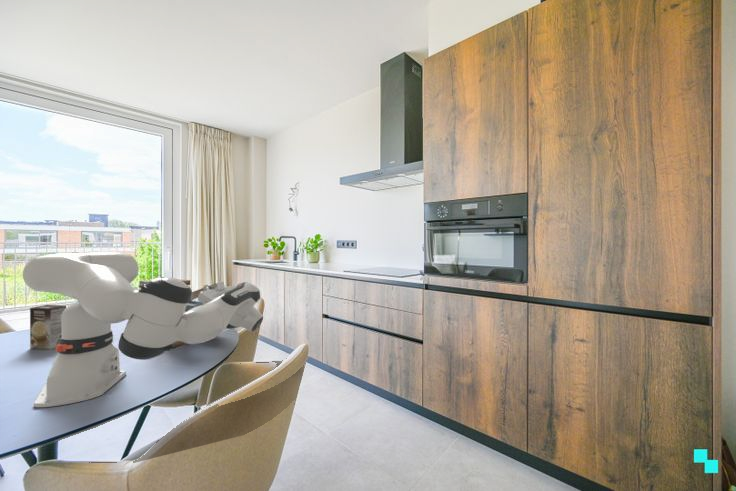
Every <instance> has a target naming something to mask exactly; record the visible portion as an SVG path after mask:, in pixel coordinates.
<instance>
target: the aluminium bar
mask: <svg viewBox="0 0 736 491" xmlns="http://www.w3.org/2000/svg"><path fill="white" fill-rule="evenodd" d="M215 283H216V282H215ZM215 283H213V284H211V285H209V286H210V287H209V289H211V290H213V289H216V290H221V289H225V287H226V286H225V282H224V281H221V282H217V283H216V284H215ZM202 291H205V290H204V289H203V287H202V288H199V289H197V290H193V291H192V294H191V299H190V301H192V300H198V296H199V294H200V292H202Z"/></svg>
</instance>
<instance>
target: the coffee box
mask: <svg viewBox="0 0 736 491" xmlns="http://www.w3.org/2000/svg"><path fill="white" fill-rule="evenodd" d="M66 308H67V306H66V305H59V304H57V305H56V304H43V305H39V306H34V307H33V306H32V307H30V308H29V328H30V329H29V335H30V336H29V348H30V349H33V350H34V349H35V350H36V349H39V350H53V349H56V346H57V345H59V341H60V338H61V337H62V322H61V316H62V313H63V311H64V310H65V309H66Z"/></svg>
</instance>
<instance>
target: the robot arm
mask: <svg viewBox="0 0 736 491" xmlns="http://www.w3.org/2000/svg"><path fill="white" fill-rule="evenodd" d="M138 274H139V264H138V262H137V259H136V258H135V257H134V256H132V255H131V254H129V253H128V254H127V253H122V252H115V251H113V252H112V251H111V252H75V253H74V252H71V253H70V252H68V253H63V252H62V253H54V254H53V253H51V254H47V255H46V254H45V255H40V256H34V257H33V258H31V259H30V260H29V261H28V262H27V263H26V264H25V266H24V268H23V271H22V278H23V281H24V283H25V285H26V286H27V287H29V288H30V289H31V290H33V291H35V292H41V293H53V294H58V295H61V296H65V297H69V298H72V299H74V300H76V302H73V303H71V304H70V305H68V306H66V309H65V310H64V311H63V313H62V316H61V322H62V337H61V338H60V341H59V345H57V346H56V348H55V352H56V353H58V354H57V355H55V359H54V361H53V363H52V366H51V368H50V371H49V374H48V375H47V379H46V382H45V384H44V385H43V387H42V389H41V390H40V392H39V393H38V395H37V397H36V398H35V400H34V402H33V407H34V408H50V407H57V406H65V405H70V404H74V403H79V402H84V401H87V400H91V399H95V398H98V397H100V396H102V395H104V393H106V392H107V391H109V389H111V388H113V386H114V385H115V384H117V383H118V382H119V381H120V380H121V379H123V377H125V376H126V375H127V371H126V370H125V369H121V366H120V365H121V364H120V353H121V354H122V355H123V356H126V357H128V358H131V359H136V360H142V361H143V360H152V359H153V358H156V357H159V356H161V355H162V354H164V353H165V352H170V351H172V350H173V349H174V348H173V347H174V345H173V344H174V342H176V341H182V342H184V343H187V344H188V345H192V344H193V345H195V344H203V343H206V342H209V341H211V340H214V339H215V338H217V337H218V336H220V335H221V334H222V333H223V332H224V330H225V329H228V330H232V329H237V328H243V329H245V330H246V331H248V332H250V333H252V332H254V331H255V330H257V329H258V328H259V327H260V325H261V324H262V323H263V320H264V316H263V315H262V313H261V312H260V311H259V310H258V309H257V308H256V307H255V305H256V304H257V303H258V301H259V300H260V299H261V291H260V289H259V287H257V286H256V285H255V284H252V282H248V281H244V282H239V283H238V284H237V285H231V286H225V289H221V290H216V289H213V290H211V289H209V287H210V285H208V284H204V285H203V287H202V288H203V289H204V290H205V291H202V292H200V294H199V296H198V298H197V300H199V301H200V302H201V303H203V304H204V305H201V306H197V307H195V308H192V309H190V310H188V311H187V312H184V311H185V309H186V306H187V303H189V302H190V299H191V294H192V292H193V290H192V288H191V287H190V285H186V284H185V283H184V282H182V281H181V280H182V279H180V280H179V279H178V278H174V277H168V276H166V277H165V276H160V277H155V278H152V279H149V280H150V281H149V282H144V283H141V284H140V285H139V284H138V287H139V289H138V288H135V287H134V286H133V285H132V284H131V283H132V282H134V280H135V279H136V278H137V276H138ZM214 284H216V282H215V283H214ZM126 320H127V323H126V324H125V328H124V330H123V332H122V333H120V336H119V337H120V338H119V340H118V344H117V346H118V348H117V347H116V346H114V344H113V341H114V334H113V330H111V329H112V328H111V325H112V324H118V323H122V322H125V321H126ZM119 351H120V352H119Z"/></svg>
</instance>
